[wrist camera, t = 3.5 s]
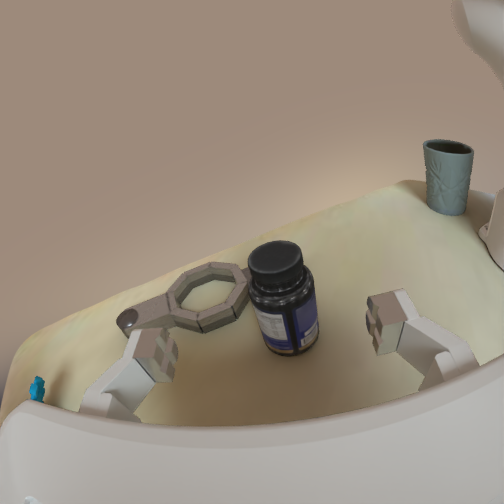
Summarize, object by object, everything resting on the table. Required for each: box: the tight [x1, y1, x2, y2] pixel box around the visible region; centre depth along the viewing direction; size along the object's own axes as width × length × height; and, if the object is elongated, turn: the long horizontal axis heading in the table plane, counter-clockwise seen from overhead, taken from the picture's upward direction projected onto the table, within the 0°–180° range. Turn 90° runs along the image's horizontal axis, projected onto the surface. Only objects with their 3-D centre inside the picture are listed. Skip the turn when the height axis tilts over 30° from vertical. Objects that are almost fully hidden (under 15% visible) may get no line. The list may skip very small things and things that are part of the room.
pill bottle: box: [248, 240, 319, 356], centre depth 27 cm, size 6×6×11 cm
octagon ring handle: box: [116, 262, 252, 339], centre depth 37 cm, size 26×11×3 cm, turn 111°
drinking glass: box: [423, 139, 474, 216], centre depth 40 cm, size 10×10×12 cm
